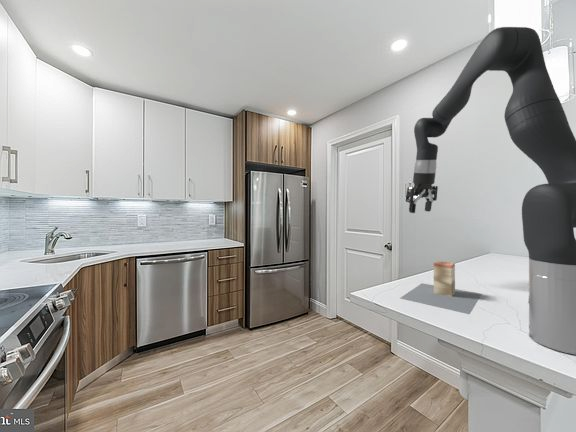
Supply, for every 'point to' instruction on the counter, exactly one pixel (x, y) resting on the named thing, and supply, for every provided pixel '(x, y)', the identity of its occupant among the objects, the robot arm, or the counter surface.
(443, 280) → the birch block
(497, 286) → the counter surface
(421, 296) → the rubber mat
